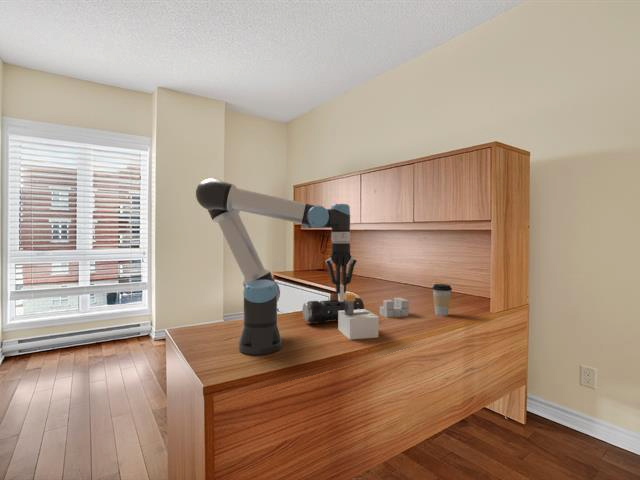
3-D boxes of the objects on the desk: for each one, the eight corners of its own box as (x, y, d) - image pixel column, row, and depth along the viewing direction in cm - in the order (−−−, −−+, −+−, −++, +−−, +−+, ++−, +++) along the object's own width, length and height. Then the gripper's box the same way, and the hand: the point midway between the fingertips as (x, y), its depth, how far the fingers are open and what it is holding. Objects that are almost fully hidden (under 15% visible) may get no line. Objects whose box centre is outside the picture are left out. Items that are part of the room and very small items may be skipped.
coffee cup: (433, 311, 172) (433, 283, 172) (452, 313, 168) (452, 284, 167) (430, 315, 163) (431, 285, 163) (451, 317, 159) (451, 287, 159)
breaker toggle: (347, 315, 130) (347, 295, 130) (342, 311, 135) (343, 293, 135) (355, 314, 131) (355, 295, 130) (350, 311, 136) (350, 293, 136)
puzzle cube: (396, 310, 174) (396, 296, 174) (408, 316, 163) (408, 300, 163) (376, 312, 171) (376, 297, 171) (386, 317, 160) (386, 301, 159)
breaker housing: (349, 339, 126) (350, 318, 126) (338, 329, 139) (338, 310, 139) (378, 337, 129) (378, 316, 129) (364, 327, 142) (364, 308, 142)
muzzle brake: (364, 321, 153) (364, 299, 153) (309, 327, 142) (309, 303, 142) (354, 316, 162) (354, 295, 162) (301, 322, 151) (301, 299, 151)
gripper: (327, 243, 126) (328, 304, 126) (359, 242, 129) (359, 302, 130) (322, 242, 133) (322, 300, 134) (352, 242, 137) (352, 298, 137)
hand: (340, 301), depth 132 cm, fingers closed
